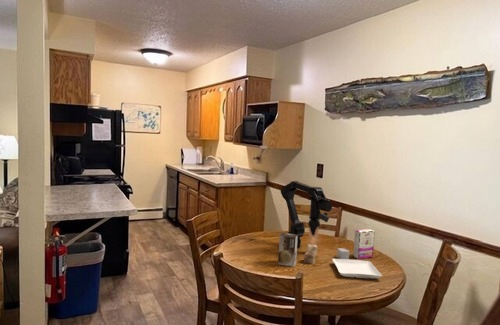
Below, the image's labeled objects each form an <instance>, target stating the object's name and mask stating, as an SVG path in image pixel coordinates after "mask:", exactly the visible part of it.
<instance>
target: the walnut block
mask: <svg viewBox="0 0 500 325" xmlns="http://www.w3.org/2000/svg"><path fill="white" fill-rule="evenodd" d="M316 256H317V255H316V253H312V252H307V251H306V252H305V253H304V255H303V257H304V258H303V263H304V264H308V265H314V264H315V263H316Z"/></svg>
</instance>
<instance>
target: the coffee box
mask: <svg viewBox="0 0 500 325" xmlns="http://www.w3.org/2000/svg"><path fill="white" fill-rule="evenodd" d="M278 239H279V241H278V255H277V258H278V260H277V265H282V266H285V267H286V266H287V267H293V268H294V267H295V266H296V264H297V254H298V252H297V251H298V248H297V240H298V235H296V234H289V233H288V232H280V235H279V237H278Z"/></svg>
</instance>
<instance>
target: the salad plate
mask: <svg viewBox="0 0 500 325" xmlns="http://www.w3.org/2000/svg"><path fill="white" fill-rule="evenodd" d="M332 262H333V264H334V265H335V267H336V269H337V270H338V273H339V275H341V276H342V277H345V278H354V277H356V278H357V279H370V278H371V279H378V278H381V277H382V276H383V275H382V273H381V272H380V271H379V270H378V269H377V268H376V267H375V265H374V264H373V263H372V262H371V261H370V260H362V259H339V258H332Z"/></svg>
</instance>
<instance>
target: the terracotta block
mask: <svg viewBox="0 0 500 325" xmlns="http://www.w3.org/2000/svg"><path fill="white" fill-rule="evenodd" d="M308 228H309V229H308V231H309V232H308V237H309V238H312V237H313V238H318V236H319V226H318V227H317V228H316V231H315V234H314V235H312V233H311V230H310V227H308Z"/></svg>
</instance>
